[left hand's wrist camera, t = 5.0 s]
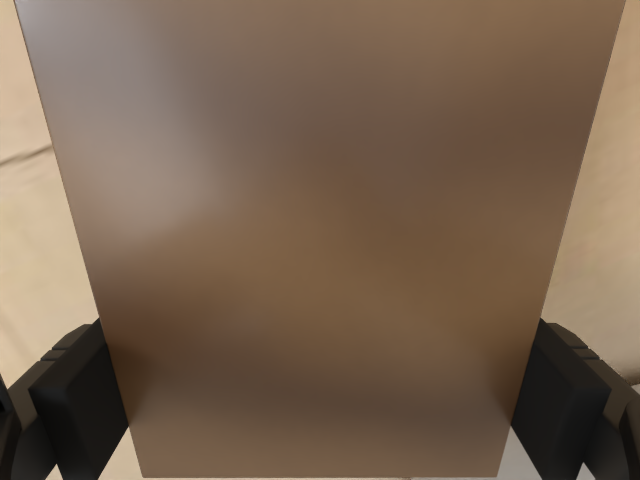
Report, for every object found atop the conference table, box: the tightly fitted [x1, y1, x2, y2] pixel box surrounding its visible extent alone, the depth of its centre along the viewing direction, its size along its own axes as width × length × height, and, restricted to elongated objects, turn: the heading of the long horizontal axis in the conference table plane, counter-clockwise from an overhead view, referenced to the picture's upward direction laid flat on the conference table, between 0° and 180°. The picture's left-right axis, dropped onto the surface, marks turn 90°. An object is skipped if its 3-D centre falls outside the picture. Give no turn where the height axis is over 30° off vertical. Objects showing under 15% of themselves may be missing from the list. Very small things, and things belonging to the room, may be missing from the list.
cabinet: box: [14, 0, 626, 478], centre depth 12 cm, size 20×10×12 cm, turn 0°
